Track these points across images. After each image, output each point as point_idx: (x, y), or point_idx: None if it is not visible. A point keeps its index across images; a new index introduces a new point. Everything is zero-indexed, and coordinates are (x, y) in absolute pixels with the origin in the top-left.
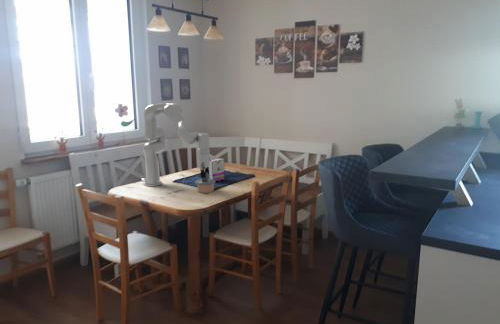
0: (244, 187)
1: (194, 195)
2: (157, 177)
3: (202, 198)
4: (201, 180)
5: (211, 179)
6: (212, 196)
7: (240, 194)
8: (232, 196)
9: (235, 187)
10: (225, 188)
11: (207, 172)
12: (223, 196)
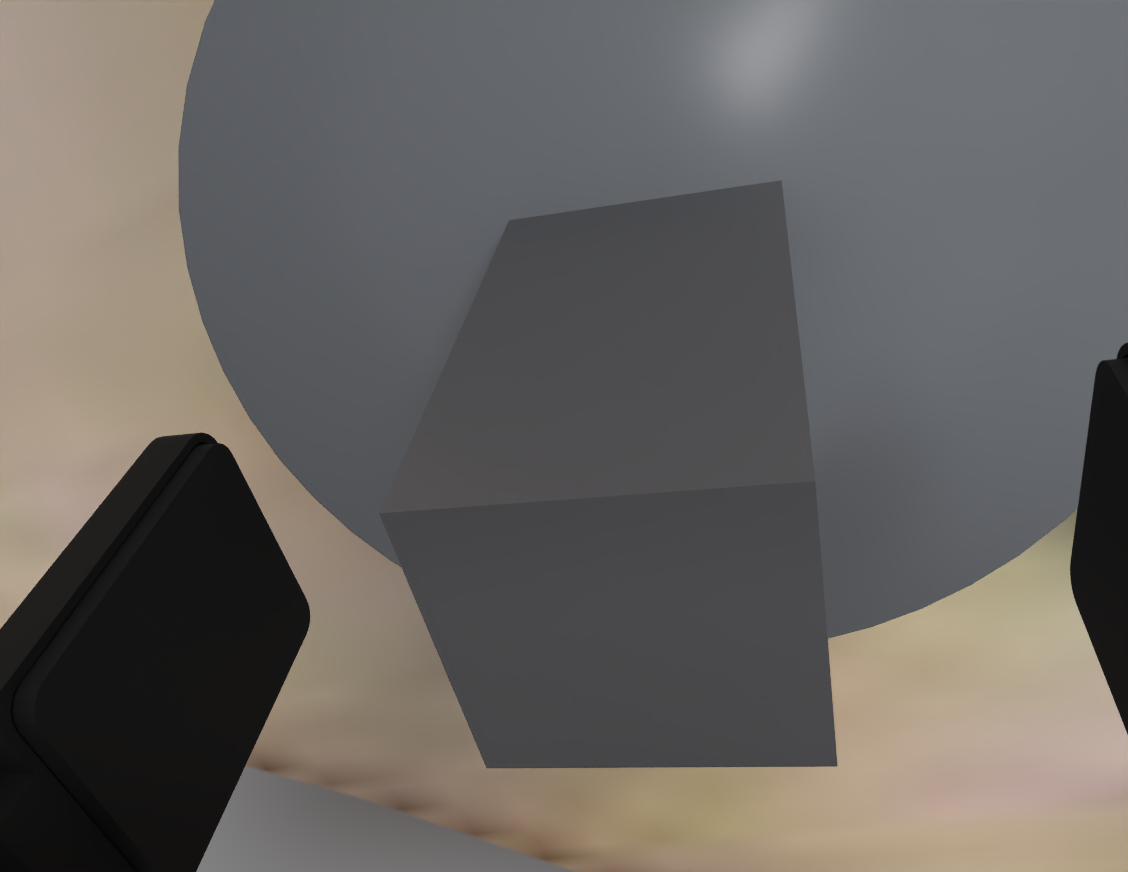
0: (1115, 863)
1: (67, 18)
2: None
3: (7, 351)
4: (754, 84)
5: (1020, 474)
6: (261, 499)
7: (598, 854)
8: (437, 781)
9: (1120, 741)
10: (1014, 584)
11: (729, 759)
12: (368, 671)
